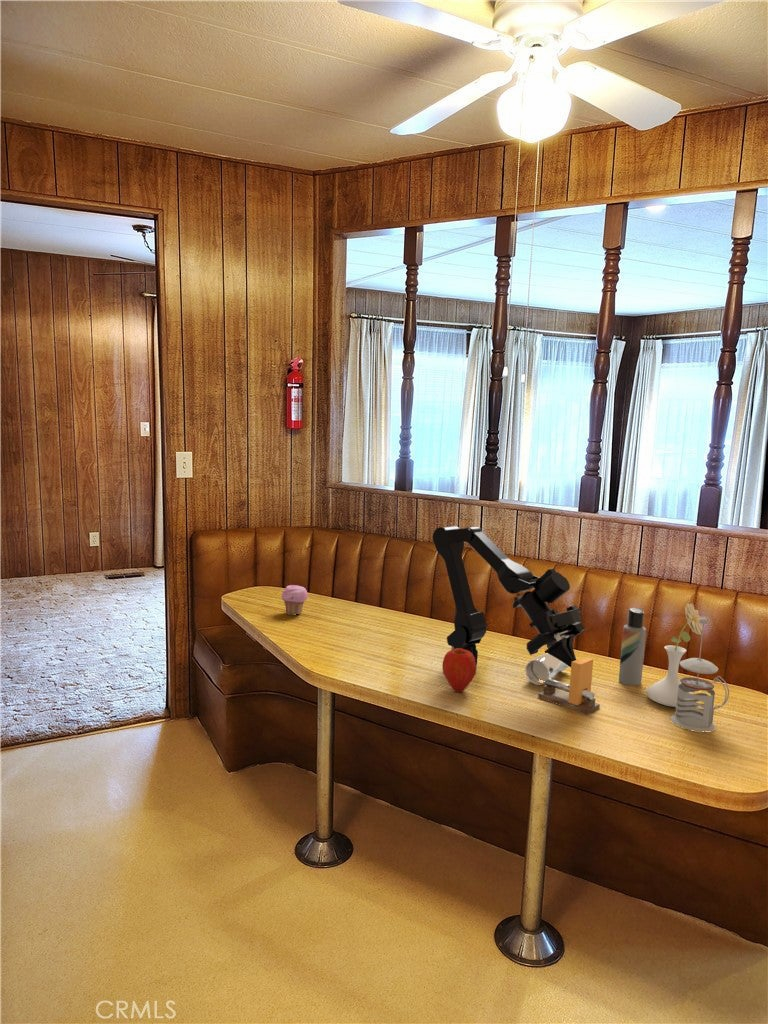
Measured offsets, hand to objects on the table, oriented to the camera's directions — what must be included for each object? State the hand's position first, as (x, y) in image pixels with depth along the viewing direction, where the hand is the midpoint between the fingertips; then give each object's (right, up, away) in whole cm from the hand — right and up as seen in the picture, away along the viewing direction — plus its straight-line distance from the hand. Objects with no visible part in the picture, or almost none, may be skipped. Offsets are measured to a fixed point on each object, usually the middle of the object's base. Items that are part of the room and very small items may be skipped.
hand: (576, 668), depth 165 cm
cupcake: (-77, +3, +68) cm, 103 cm away
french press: (+26, -12, -7) cm, 29 cm away
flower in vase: (+25, -10, +6) cm, 28 cm away
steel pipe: (-1, -6, +2) cm, 7 cm away
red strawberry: (-28, -7, +6) cm, 29 cm away
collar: (+1, -8, 0) cm, 8 cm away
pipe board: (-1, -9, +2) cm, 9 cm away
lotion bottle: (+19, -8, +18) cm, 28 cm away
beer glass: (+2, -3, +25) cm, 25 cm away
